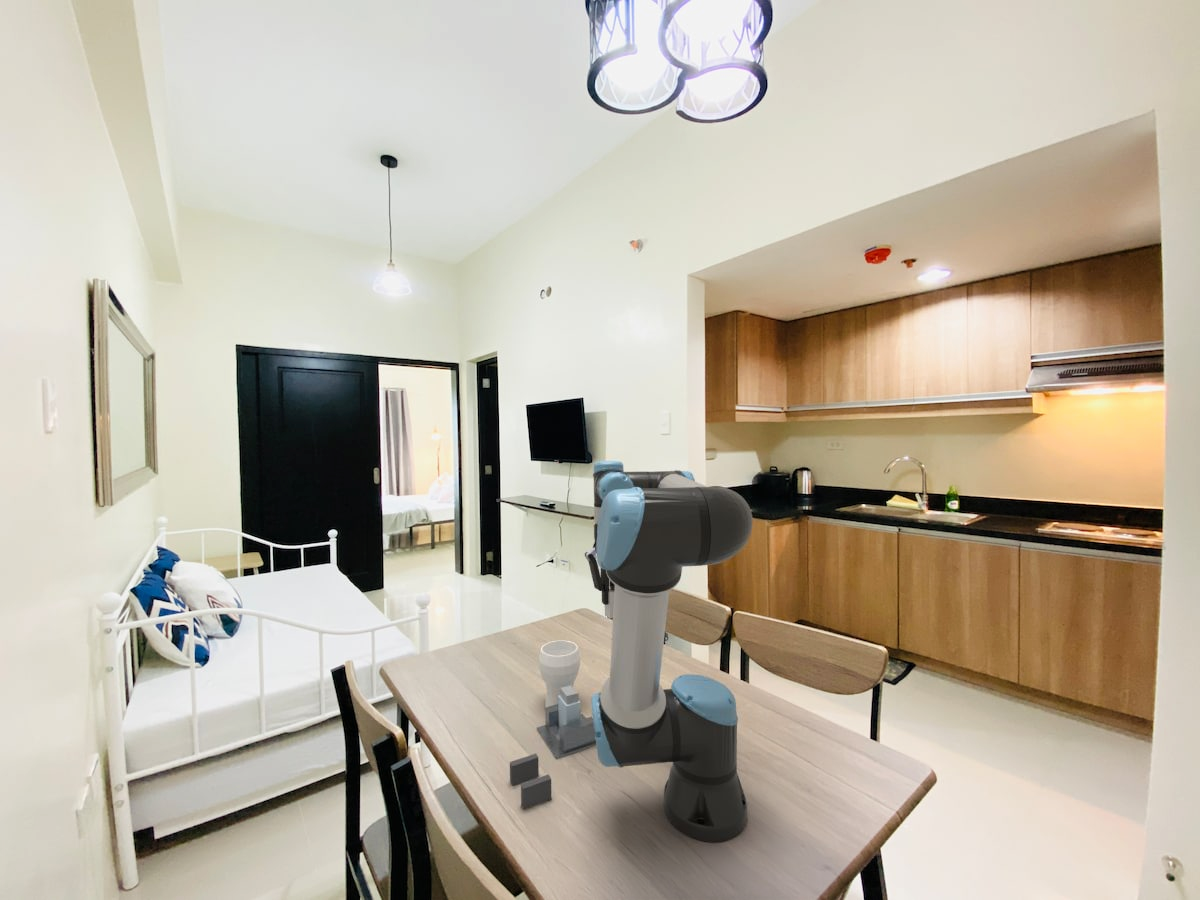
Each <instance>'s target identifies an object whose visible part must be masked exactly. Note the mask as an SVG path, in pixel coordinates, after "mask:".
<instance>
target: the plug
mask: <svg viewBox="0 0 1200 900" xmlns="http://www.w3.org/2000/svg"><path fill="white" fill-rule="evenodd" d="M581 707H582V706H581V701H580V700H579V692H578V691H577V690H576V689H575V688H574V686H573V687H572V685H570V686H566V687H562V688H560V695H559V696H558V720H559V727H560V726H563V725H566V724H569V723H573V722H576V721H579V720H581V714H582V713H581V709H582V708H581Z"/></svg>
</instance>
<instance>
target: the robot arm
mask: <svg viewBox="0 0 1200 900" xmlns="http://www.w3.org/2000/svg"><path fill="white" fill-rule="evenodd" d="M592 477H593V498H594V499H593V521H594V522H595V523H594V524H593V539H594V543H593V545H592V549H591V550H590V551H586V552H585V553H584V557H585V558H586V560H587V562H588V566H589V569H590V574H591V578H592V582H593V583H592V584H593V585H594V586H593V587H594V589H596V590H598V591H599V592H601V603H602V604H603V605H604V616H605V617H606V618H608V619H612V631H611V649H610V650H611V651H610V668H609V677H608V678H607V679H606V680H605V682H604V683H603V685H602V686H601V690H600V692H597V693H595V694H592V696H591V711H592V718H593V723H594V729H595V738H596V746H595V747H596V752H597V757H598V761H599V763H600V764H601V765H602V766H604V767H608V768H609V767H618V768H624V767H631V766H643V765H653V764H664V763H672V764H671V767H670V771H669V775H668V779H667V780H666V782H665V785H664V787H663V788H664V789H663V810H664V813H665V816H666V817H667V819H668V821H669V822H670V823H671V825H673V826H674V828H676V829H677V830H678V831H679V832H681V833H682V834H684V835H686V836H687V837H690V838H692V839H695V840H699V841H703V842H709V843H710V842H711V843H712V842H713V843H716V842H717V843H718V842H725V841H727V840H728V841H729V840H731V839H733V838H735V837H736V836H738V835H739V834H740V833H741V832H742V831H743V830H744V828H745V827H746V824H747V818H748V804H747V803H748V802H747V799H746V796H745V792H744V790H743V786H742V783H741V781H740V777H739V774H738V770H737V769H738V768H737V767H738V766H737V765H738V759H737V758H738V757H737V755H738V753H737V752H738V751H737V750H738V720H739V718H738V715H737V713H738V712H737V702H736V698H735V696H734V694H733V692H732V690H730V688H729V687H727V686H726V685H725V684H723V683H722V682H720V681H718V680H715V679H714V678H712V677H708V676H704V675H700V674H694V673H693V674H689V673H688V674H681V675H679V676H677V677H675V678H674V679H673V681H672V683H671V685H670V686H671V688H667V689H665V688H663V686H662V685H661V684H660V680H661V669H662V663H663V662H662V661H663V652H664V643H665V633H666V624H667V616H668V604H669V597H670V591H671V590H673V589H674V588H676V587H677V585H678V584H679V583H680V582H681V579H682V578H681V577H682V572H683V567H702V566H712V565H717V564H721V563H723V562H725V561H728V560H729V559H731V558H733V557H734V556H736V555H737V554H738V553H739V552H741V551H742V549H743V548H744V547H745V546H746V544H747V543H748V542H749V539H750V537H751V534H752V531H753V526H754V525H753V524H754V521H753V514H752V511H751V508H750V506H749V503H747V501H746V500H745V498H744V497H743V496H742V495H740V494H739V493H738V492H736V491H734V490H733V489H729V488H726V487H724V486H720V485H711V486H707V485H704V484H702V483H699V482H697V481H696V480H695V476H694V475H693V473H692V472H691V471H688V470H687V471H686V470H676V469H675V470H669V471H668V470H664V471H624V464H623V462H621V461H617V460H601V461H600V460H599V461H596V462H595V463H594V464H593V473H592ZM599 567H600V569H599Z"/></svg>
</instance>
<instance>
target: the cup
mask: <svg viewBox="0 0 1200 900" xmlns="http://www.w3.org/2000/svg"><path fill="white" fill-rule="evenodd" d="M579 651H580V650H579V647H578V645H577V644H576V643H575V642H573V641H569V640H553V641H549V642H546V643H545V644H542V646H541V648H540V653H539V657H538V667H539V672H540V675H541V677H542V680H543V681H544V683H545V687H546V695H545V705H544V707H545V708H546V707H549V706H553V705H556V704H558V696H559V695H560V688H562V687H566V686H570V685H572V687H573V688H574V686H575V685H574V684H575V680H576V679H577V677H578V674H579V671H580V667H581V655H580V652H579ZM545 708H544V709H545Z"/></svg>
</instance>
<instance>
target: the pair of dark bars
mask: <svg viewBox="0 0 1200 900" xmlns="http://www.w3.org/2000/svg"><path fill="white" fill-rule="evenodd" d="M539 762H540V761H539V756H538V754H537V753H532V754H530V755H527V756H524V757H520V758H518V759H515V760H512V761H509V782H510V784H511V786H512V787H514V786H516V785H519V784H520V805H521V808H522V809H523V811H524V810H526V809H529V808H532V807H535V806H537V805H540V804H542V803H545V802H547V801H550V800H552V797H553V796H552V777H551V776H550V774H549V773H548V774H546V775H542V776H540V777H539V773H540V772H539V771H540V770H539V766H540V764H539Z"/></svg>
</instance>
